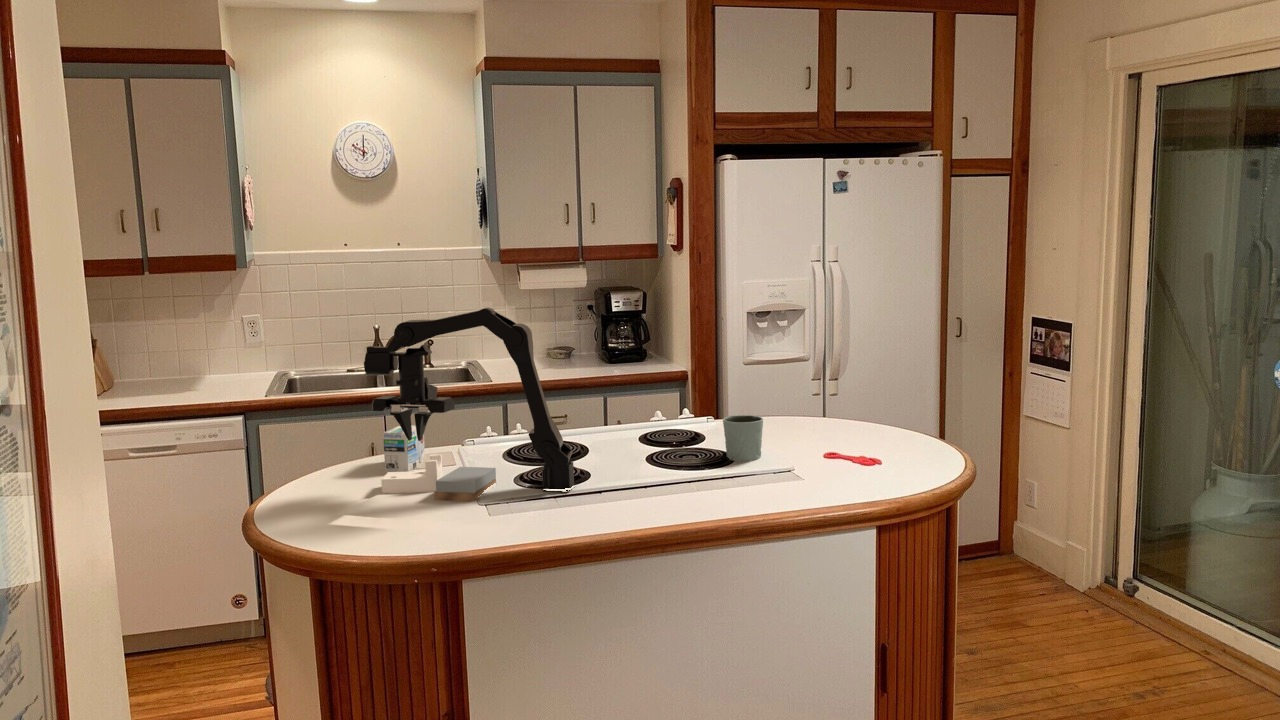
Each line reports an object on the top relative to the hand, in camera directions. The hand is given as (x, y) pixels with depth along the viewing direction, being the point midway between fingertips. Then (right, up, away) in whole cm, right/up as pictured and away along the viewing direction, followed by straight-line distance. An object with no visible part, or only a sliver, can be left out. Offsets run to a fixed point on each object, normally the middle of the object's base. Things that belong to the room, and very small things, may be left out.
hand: (415, 440), depth 229 cm
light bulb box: (-8, -10, +22) cm, 25 cm away
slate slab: (+13, -10, -2) cm, 16 cm away
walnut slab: (+12, -13, -2) cm, 18 cm away
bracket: (-1, -12, +3) cm, 13 cm away
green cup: (+79, -8, +20) cm, 82 cm away
